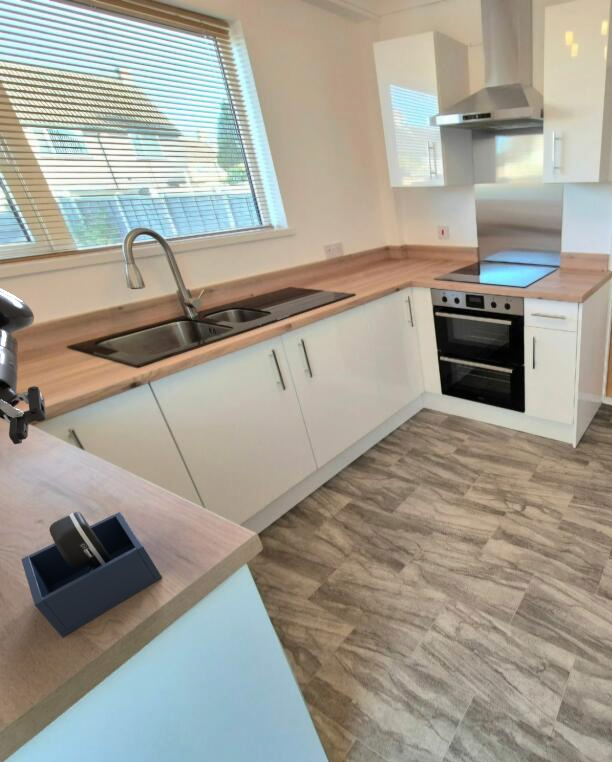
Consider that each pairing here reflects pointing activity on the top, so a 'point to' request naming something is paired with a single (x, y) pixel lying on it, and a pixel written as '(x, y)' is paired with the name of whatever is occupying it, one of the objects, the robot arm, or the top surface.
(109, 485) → the top surface
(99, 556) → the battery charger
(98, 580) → the bin
